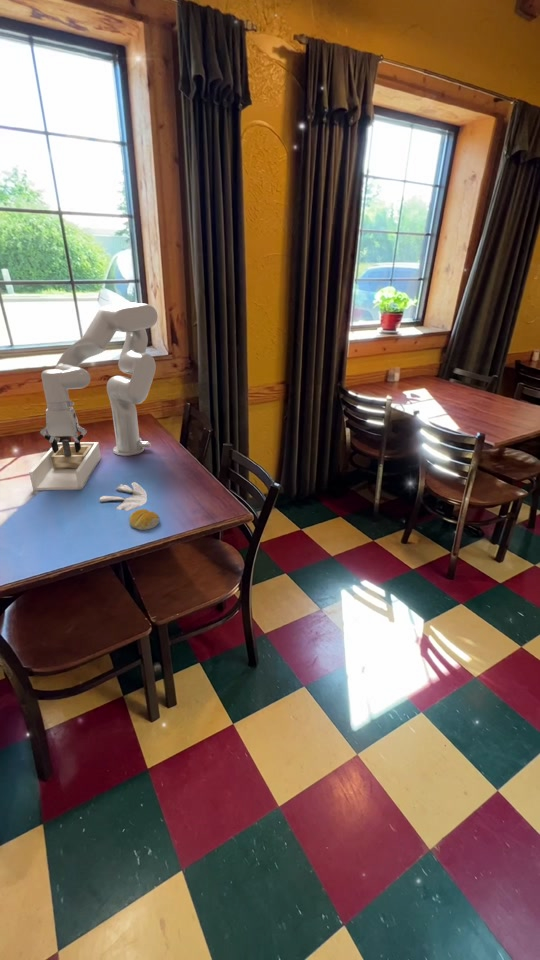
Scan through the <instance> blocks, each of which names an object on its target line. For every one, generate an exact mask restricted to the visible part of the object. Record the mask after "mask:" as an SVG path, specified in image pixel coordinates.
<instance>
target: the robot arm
mask: <svg viewBox="0 0 540 960" xmlns="http://www.w3.org/2000/svg"><path fill="white" fill-rule="evenodd" d="M158 315H159V314H158V311H157V309H156V308H155V307H154V306H152V305H151V304H148V303H139V302H133V301H131V302H130V301H129V302H124V303H122V304H121V305H120V306H111V305H105V306H102V307H100V308H99V310H98V311H97V313H96V315H95V316H94V318H93V320H92V321H91V322H90V324H89V325H88V328H86V331H85V333H84V334H83V336H81V338H80V339H78V340H77V341H75V342H74V343H73V344H72V345H70V346H69V347H68V348H67V349H66V350H65V351H64V352H63V353H62V355H61V356H60V358H59V359H58V361H57V363H56V365H55V367H54V368H50V369H49V368H48V369H44V370H43V371H42V372H41V375H40V376H41V382H42V386H43V392H44V398H45V402H46V407H47V408H46V409H45V423H46V426H45V427H43V429H41V430H40V432H39V434H40V435H42V436H43V437H44V438H45V439H46V440H47V441H49V442H48V443H50V445H51V447H52V450H54V453H56V452H57V451H58V450H59V449H58V444H57V441H56V440H55V438H56V436H71V439H72V440H74V442H75V443H74V445H75V451H76V453H78V452H79V451H80V449H81V445H80V442H81V440H82V439H83V438H84V436H85V435H86V434H87V432H88V430H87V429H85V428H84V427H82V426H81V425H80V424H79V420H78V417H77V415H76V411H75V408H74V407H73V406H75V402H74V401H72V400H71V399H70V396H69V390H78V389H85V388H87V387H88V385H90V383H91V380H92V379H91V375H90V372H88V371H87V370H86V369H85V368H82V367H80V365H81V364H82V363H83V362H84V361H85V360H87V359H89V358H91V357H95V356H98V355H99V354H101V353H104V352H105V351H106V349H107V347H108V346H109V344H110V342H111V340H112V339H113V337H114V335H115V334H116V332H119V333H120V332H121V333H125V339H124V343H123V346H122V348H121V353H120V354H119V359H118V363H117V364H118V366H117V367H118V368H119V371H120V372H122V373H124V374H127V375H130V376H131V377H130V376H129V377H128V376H124V375H114V376H112V377H110V378H109V379H108V381H107V382H106V392H107V395H108V398H109V402H110V406H111V412H112V421H113V427H114V429H113V430H114V435H115V443H116V446H114V447H113V449H112V450H113V453H114V454H116V455H117V456H122V457H124V456H125V457H127V456H134V455H135V456H136V455H139V454H141V453H142V452H144V451H145V448H151V447H152V446H151V444H152V443H151V442H149V441H148V440H147V441H145V440H144V441H143V440H142V438H141V437H140V433H139V432H140V431H139V424H138V423H139V421H138V413H137V412H138V411H137V407H136V405H140V404H142V403H143V402H144V401H146V400H147V397H148V395H149V392H150V389H151V386H152V384H153V379H154V378H155V374H156V369H157V367H156V361H155V359H154V357H153V356H152V355H151V354H149V353H146V350H147V347H148V341H149V338H148V334H147V329H150V328H152V327H153V326H155V325H156V323H157V322H158ZM80 432H81V433H80ZM78 433H80V435H79V434H78Z"/></svg>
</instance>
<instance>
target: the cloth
mask: <svg viewBox="0 0 540 960" xmlns="http://www.w3.org/2000/svg"><path fill="white" fill-rule="evenodd" d="M131 486H132V488H131V487H130V486H129V485H128V484H122V483H121V484H119V486H117V487H116V491H119V492H121V493H127V494H129V495H131V496H129V497H125V498H124V497H121V496H113V495H102V496H101V497H99V503H106V502H107V503H108V502H122V503H121V504H119V505H118V506H117V507H116V510H120V511H122V510H125V512H128V511H132V510H134V509H137V508H139V507H142V506H143V505H146V503H147V501H148V498H147V497H148V496H147V492H146V490H145V489H144V488H143V486H141V485H140V484H139V483H137V482H136V481H134V482H132V483H131Z"/></svg>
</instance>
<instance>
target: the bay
mask: <svg viewBox="0 0 540 960" xmlns="http://www.w3.org/2000/svg"><path fill="white" fill-rule="evenodd" d="M74 443H75V441H74V442H72V441H71V443H69V444H70V446H75V445H74ZM57 444H58V448H59V447H60V446H63V445H62V443H57ZM80 445H81V446H90V445H92V448H91V449H90V451H89V452H88V454H87V455H86V457H85V458H84V460H83V461H82V463H81V464H80V465H79V467H78V468H76V469H53V464H52V459H51V456H52V455H53V454H54V450H52V446H51V447H50V448H49V449H48V451H47V452H45V454H44V455H43V456H42V457H41V458H40V459H39V461H38V462H37V463H36V464H34V466H33V467H32V468H31V470H29V472H28V473H29V478H30V481H31V487H32V491H65V490H67V491H70V490H73V491H74V490H83V488H84V487H85V485H86V484H87V482H88V481H89V479H90V477H91V476H92V474H93V472H94V470H95V469H96V468H97V466H98V464H99V462H100V461H101V459H102V456H101V455H102V454H101V451H100V449H101V448H100V443H99V441H98V442H97V441H96V442H95V441H94V442H93V441H92V442H91V441H90V442H89V441H88V442H87V441H86V442H83V441H82V442H81V441H80Z"/></svg>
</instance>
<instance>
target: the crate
mask: <svg viewBox="0 0 540 960" xmlns="http://www.w3.org/2000/svg"><path fill="white" fill-rule="evenodd" d="M62 445H63V446H60V447H59V448H58V449H59V450H58V451H57V452H56V453H54V454H53V455H52V456H51V459H52V464H53V469H76V468H78V467H79V465H80V464H81V463H82V461H83V460H84V458H85V457H86V455H87V454H88V452H89V451H90V449H91V448H92V445H90V446H81V449H80V451H79V452H78V453H76V451H75V446H70V444H69V440H63V441H62Z"/></svg>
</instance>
